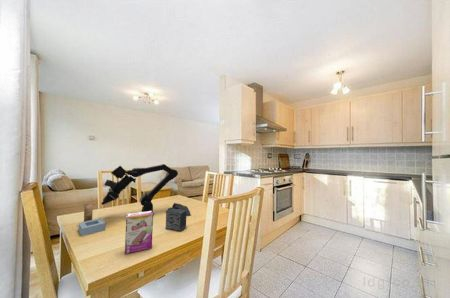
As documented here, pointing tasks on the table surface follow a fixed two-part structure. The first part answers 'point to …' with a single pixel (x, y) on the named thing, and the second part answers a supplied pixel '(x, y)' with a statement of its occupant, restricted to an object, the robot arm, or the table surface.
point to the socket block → (91, 226)
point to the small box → (176, 219)
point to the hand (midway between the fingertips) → (102, 202)
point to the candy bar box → (138, 231)
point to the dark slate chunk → (181, 207)
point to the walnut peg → (88, 211)
